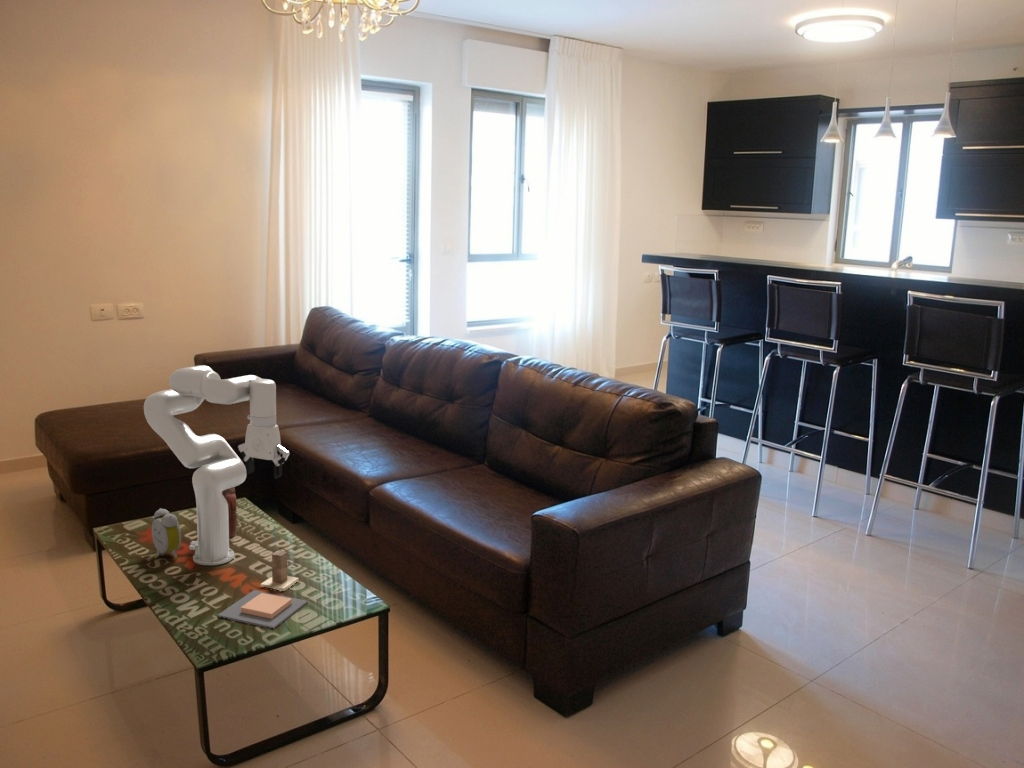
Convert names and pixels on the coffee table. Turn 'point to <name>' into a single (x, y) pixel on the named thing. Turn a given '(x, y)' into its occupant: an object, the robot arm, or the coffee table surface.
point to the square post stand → (279, 573)
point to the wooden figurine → (231, 509)
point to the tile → (266, 605)
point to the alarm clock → (166, 533)
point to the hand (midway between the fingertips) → (264, 475)
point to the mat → (237, 615)
